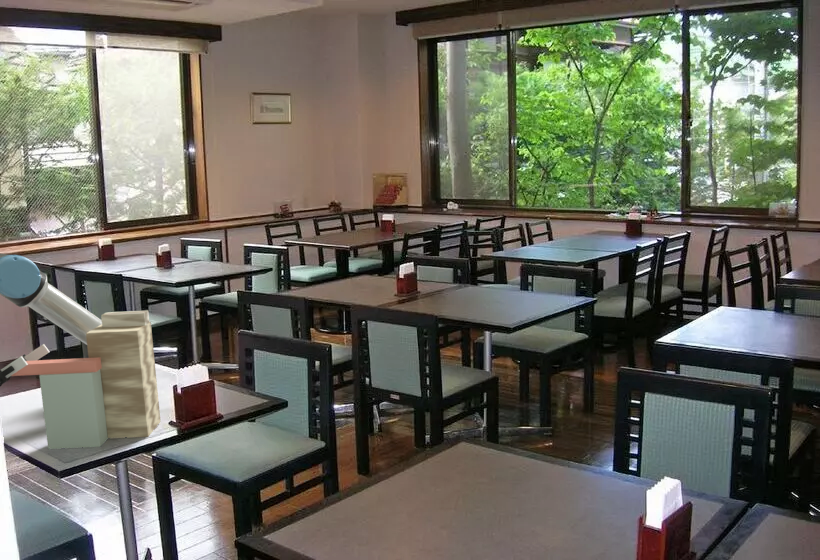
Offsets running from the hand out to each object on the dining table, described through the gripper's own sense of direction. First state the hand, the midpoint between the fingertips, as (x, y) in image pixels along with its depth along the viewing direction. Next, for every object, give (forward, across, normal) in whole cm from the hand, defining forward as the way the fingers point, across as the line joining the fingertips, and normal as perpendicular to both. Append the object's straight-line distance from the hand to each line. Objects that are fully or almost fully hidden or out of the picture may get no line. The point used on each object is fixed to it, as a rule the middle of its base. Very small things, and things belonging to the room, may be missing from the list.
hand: (35, 354), depth 227 cm
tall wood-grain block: (+4, -9, -32) cm, 34 cm away
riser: (-5, 0, -27) cm, 27 cm away
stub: (+2, 0, -7) cm, 7 cm away
